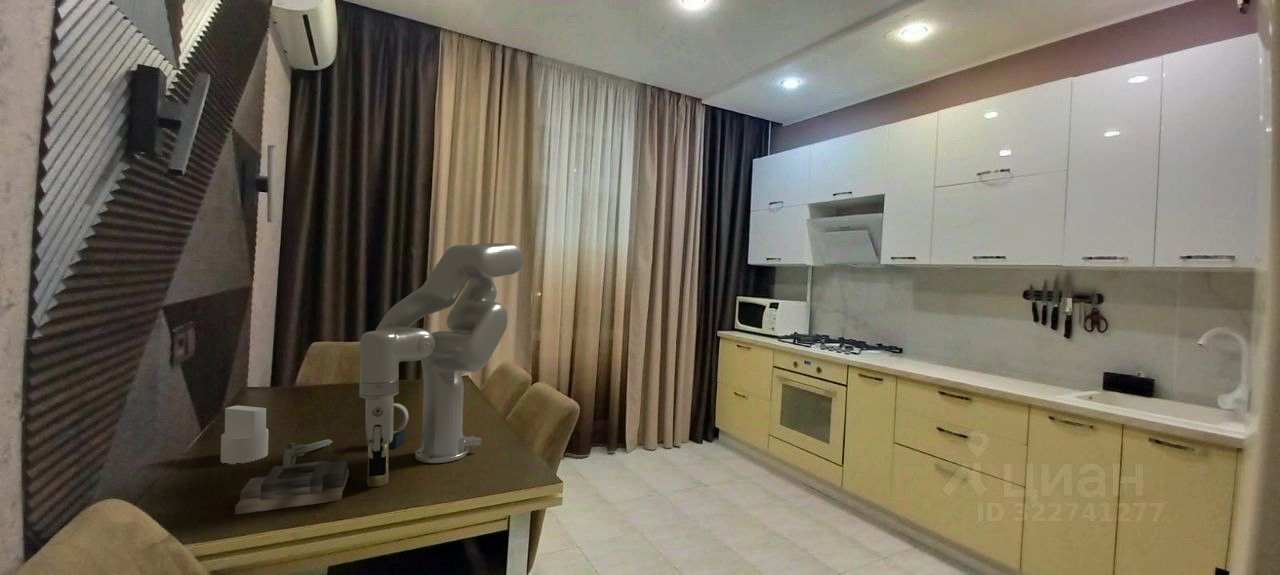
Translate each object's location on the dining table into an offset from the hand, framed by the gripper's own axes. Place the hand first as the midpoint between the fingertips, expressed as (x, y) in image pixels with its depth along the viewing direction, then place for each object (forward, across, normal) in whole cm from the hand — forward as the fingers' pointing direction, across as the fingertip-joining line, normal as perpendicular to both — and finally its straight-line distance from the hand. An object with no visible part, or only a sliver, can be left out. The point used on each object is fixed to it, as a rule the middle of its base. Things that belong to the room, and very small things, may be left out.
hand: (378, 470), depth 107 cm
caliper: (+3, +24, +16) cm, 29 cm away
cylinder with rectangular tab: (+3, +28, +30) cm, 41 cm away
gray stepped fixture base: (+3, 0, +15) cm, 15 cm away
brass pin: (+3, 0, 0) cm, 3 cm away
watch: (+3, +26, -2) cm, 26 cm away
